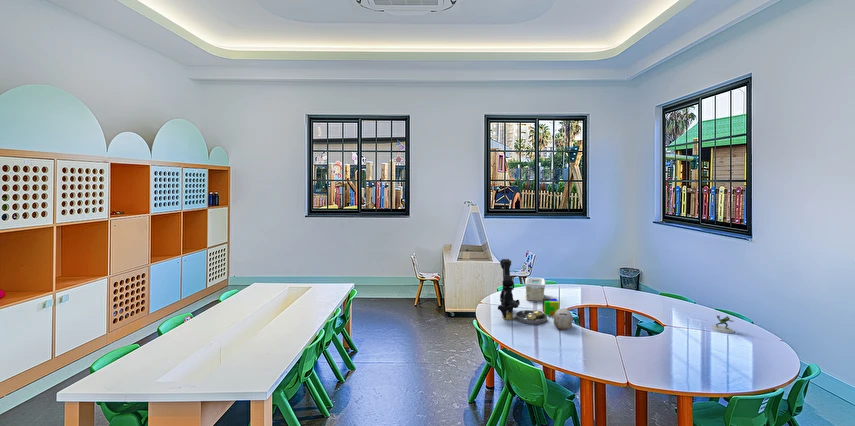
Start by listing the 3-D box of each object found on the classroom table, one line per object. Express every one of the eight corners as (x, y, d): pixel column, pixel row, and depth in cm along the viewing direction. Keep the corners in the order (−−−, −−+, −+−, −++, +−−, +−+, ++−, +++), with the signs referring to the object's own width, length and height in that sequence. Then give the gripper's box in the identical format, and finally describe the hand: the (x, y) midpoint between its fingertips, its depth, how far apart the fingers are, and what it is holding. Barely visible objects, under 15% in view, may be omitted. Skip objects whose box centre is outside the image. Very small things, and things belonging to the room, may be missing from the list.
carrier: (509, 319, 282) (509, 313, 281) (524, 311, 298) (524, 305, 298) (538, 326, 267) (538, 319, 267) (551, 318, 284) (551, 311, 284)
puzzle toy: (555, 311, 299) (555, 298, 298) (558, 315, 289) (559, 302, 288) (542, 311, 300) (542, 298, 299) (545, 315, 290) (545, 302, 289)
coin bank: (564, 320, 279) (565, 303, 276) (580, 331, 262) (581, 313, 260) (545, 323, 274) (546, 306, 271) (560, 335, 258) (561, 316, 255)
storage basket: (525, 292, 350) (525, 276, 348) (544, 294, 345) (544, 277, 344) (525, 300, 327) (525, 283, 325) (545, 302, 322) (545, 284, 321)
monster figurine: (724, 334, 251) (725, 318, 250) (707, 327, 262) (707, 312, 261) (738, 332, 254) (739, 317, 253) (720, 325, 265) (721, 311, 265)
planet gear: (500, 318, 285) (500, 313, 285) (505, 315, 290) (505, 311, 290) (509, 320, 280) (509, 315, 280) (514, 317, 286) (514, 313, 285)
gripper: (511, 301, 272) (511, 322, 273) (523, 295, 286) (523, 315, 287) (497, 298, 279) (497, 319, 280) (510, 292, 293) (510, 312, 294)
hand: (507, 316), depth 285 cm, fingers closed on planet gear, 7 cm apart
